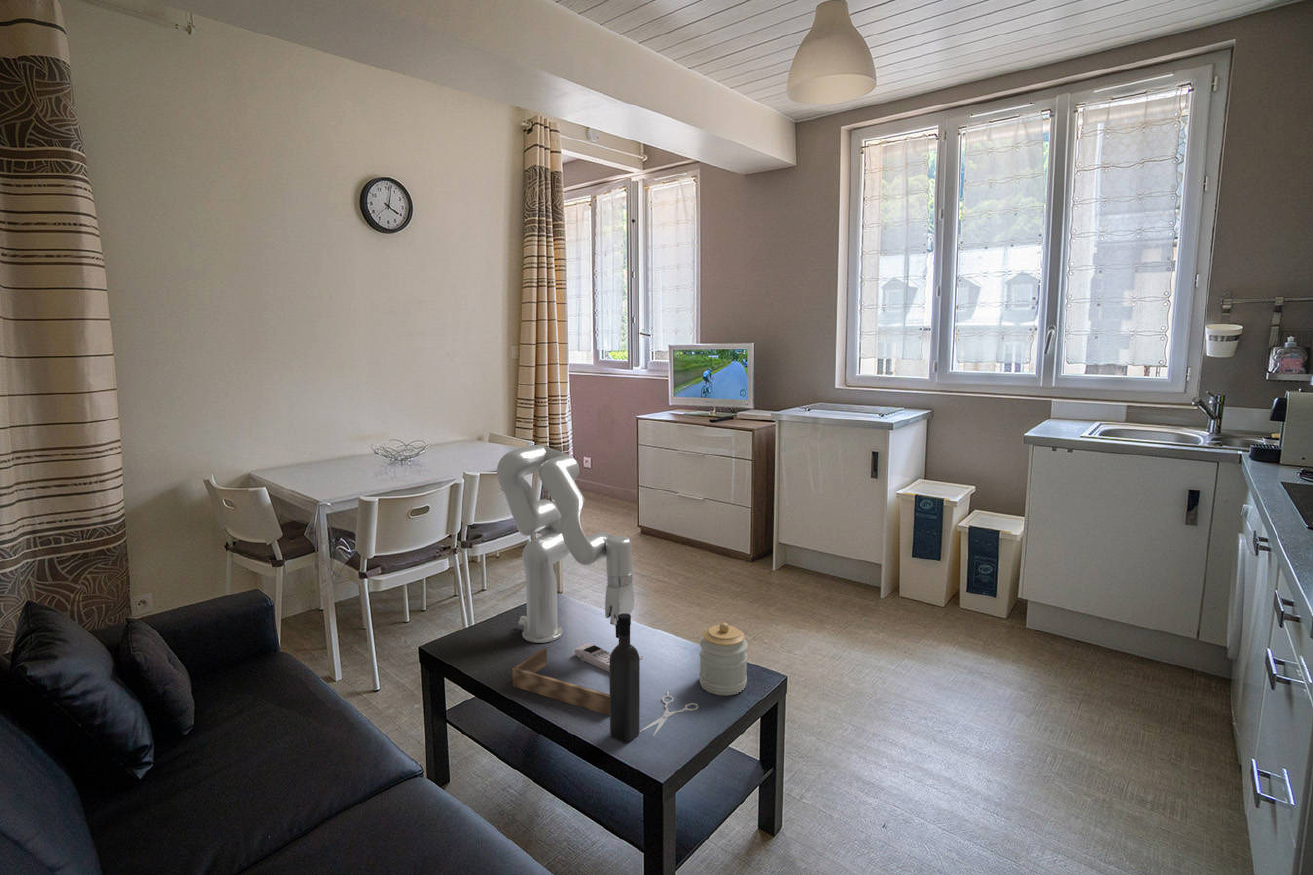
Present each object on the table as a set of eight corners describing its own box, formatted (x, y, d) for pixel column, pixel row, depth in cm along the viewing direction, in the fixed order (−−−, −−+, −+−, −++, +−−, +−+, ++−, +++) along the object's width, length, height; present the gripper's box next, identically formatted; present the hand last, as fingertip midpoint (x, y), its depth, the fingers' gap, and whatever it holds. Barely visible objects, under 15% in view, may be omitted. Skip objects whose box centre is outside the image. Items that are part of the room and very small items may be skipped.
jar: (746, 673, 189) (747, 614, 187) (747, 698, 177) (749, 634, 174) (699, 671, 191) (700, 612, 188) (698, 695, 178) (699, 632, 175)
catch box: (512, 686, 182) (512, 668, 181) (544, 663, 194) (543, 647, 193) (611, 715, 168) (611, 697, 167) (638, 689, 180) (638, 672, 179)
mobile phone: (630, 663, 183) (568, 636, 199) (629, 684, 184) (568, 654, 200) (644, 656, 187) (583, 629, 204) (644, 676, 188) (583, 648, 204)
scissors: (702, 702, 174) (664, 740, 157) (702, 704, 174) (664, 743, 157) (667, 691, 179) (626, 727, 162) (667, 693, 179) (626, 730, 162)
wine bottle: (607, 736, 159) (607, 616, 155) (622, 725, 164) (621, 608, 159) (627, 745, 156) (627, 622, 151) (641, 733, 161) (641, 614, 156)
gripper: (621, 569, 206) (623, 625, 209) (595, 584, 193) (597, 645, 196) (642, 572, 203) (644, 630, 205) (617, 588, 190) (620, 650, 192)
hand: (621, 637), depth 201 cm, fingers closed
